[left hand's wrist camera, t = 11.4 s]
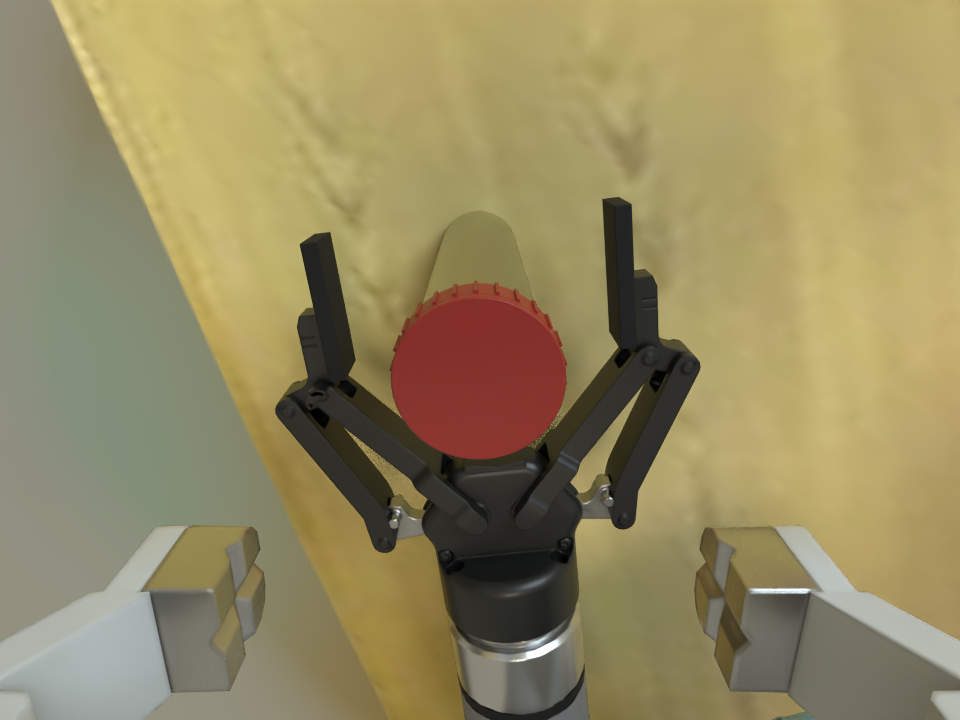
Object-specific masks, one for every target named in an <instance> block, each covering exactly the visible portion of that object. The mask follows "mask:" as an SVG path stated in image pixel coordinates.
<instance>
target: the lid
mask: <svg viewBox="0 0 960 720" xmlns="http://www.w3.org/2000/svg"><path fill="white" fill-rule="evenodd" d="M561 346H562V343H561V340H560V338H559V335H558V332H557V331H554V330H553V326H552V324H551V321H550V318H549V316H548V314H545V315H544V314H543V312H542V311H541V310H540V309H539V308H538V307H537V305H536V302H535V300H533V299H532V300H531V301H530V300H529V299H527V298H526V297H524V296H523V295H521V294H519V291H518V289H516V288H515V289H514V291H513V290H511V289H508V288H506V287H502V286H499V283H497V282H495V285H493V284H486V283H478V281H474V283H472V284H463V285H459V286H458V285H457V283H456V284H453V287H452V288H449V289H446V290H444V291H442V292H440V293H438V291H436V292H434V295H433V297H431V298H430V299H429V300H427V301H426V302H425V303H423V304H422V303H419V304H418V306H417V309H416V312H415V313H414V314H413V315H412V317H411V318H410V319H409V318H407V319H406V321H405V324H404V326H403V329H402V336H400V335H399V336H398V339H397V341H396V344H395V346H394V349H393V351H395V355H394V358H393V361H392V364H391V367H390V371H391V388H392V392H393V397H394V400H395V404H396V407H397V409H398V411H399V413H400V415H401V417H402V418H403V420H404V421H405V423H406V424H407V426H408V427H409V428H410V429H411V430H412V431H413V432H414V433H415V434H416V435H417V436H418V437H419V438H420V439H421V440H422V441H424V442H425V443H427V444H428V445H430V446H431V447H433V448H435V449H437V450H439V451H441V452H443V453H446V454H449V455H452V456H456V457H460V458H466V459H492V458H497V457H502V456H506V455H508V454H511V453H514V452H516V451H518V450H520V449H522V448H524V447H526V446H527V445H529V444H531V443H532V442H534V441H535V440H536V439H537V438H538V437H539V436H541V435H542V434H543V433H544V432H545V430H546V429H547V428H548V427H549V426H550V424H551V423H552V422H553V420H554V419H555V417H556V415H557V413H558V411H559V409H560V407H561V404H562V401H563V398H564V394H565V389H566V383H567V382H566V367H565V366H567V362H566V359H565V356H564V354H563V351H562V349H560V347H561Z"/></svg>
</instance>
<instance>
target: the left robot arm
mask: <svg viewBox="0 0 960 720" xmlns="http://www.w3.org/2000/svg"><path fill="white" fill-rule="evenodd" d="M259 551H260V545H259V539H258V534H257V531H256V530H255V529H254V528H253V527H236V526H188V525H178V526H177V525H172V526H171V525H169V526H159V527H156V528H154V529H153V530H152V531H151V532H150V534H149V535H148V536H147V537H146V539H145V540H144V541H143V542H142V544H141V545H140V546H139V547H138V548H137V550H136V551H135V552H134V553H133V555H132V556H131V557H130V558H129V560H128V561H127V562H126V563H125V565H124V566H123V567H122V568H121V570H120V571H119V572H118V573H117V574H116V576H115V577H114V578H113V579H112V581H111V582H110V583H109V584H108V586H107V587H106V588H105V589H104V591H103V592H91V593H89V594H87V595H85V596H84V597H82V598H80V599H78V600H76V601H74V602H72V603H70V604H69V605H67V606H65V607H63V608H61V609H59V610H57V611H55V612H53V613H51V614H50V615H48V616H46V617H44V618H42V619H40V620H38V621H36V622H34V623H33V624H31V625H29V626H27V627H25V628H23V629H21V630H19V631H18V632H16V633H14V634H12V635H10V636H8V637H6V638H4V639H2V640H1V641H0V720H145V719H146V718H147V717H148V716H150V715H151V714H152V713H153V712H154V711H155V710H156V709H157V708H159V707H160V706H161V705H162V704H163V703H164V702H165V701H167V700H168V699H169V698H170V697H171V696H172V694H171V693H177V692H211V691H230V689H231V687H232V685H233V683H234V681H235V678H236V676H237V674H238V672H239V669H240V667H241V665H242V663H243V660H244V658H245V656H246V654H245V648H244V641H246V640H247V639H248V638H250V637H251V636H252V635H254V634H255V633H256V631H257V628H258V626H259V623H260V621H261V618H262V613H263V608H264V603H265V579H264V572H263V571H262V570H261V569H260V568H259V567H258V566H257V565H256V564H255V563H254V561H255V559H256V557H257V555H258V553H259ZM700 551H701V553H702V555H703V557H704V559H705V561H706V563H705V564H704V565H703V566H702V567H701V568H700V569H699V570H698V571H697V572H696V581H695V602H696V610H697V614H698V617H699V621H700V623H701V626H702V628H703V631H704V633H705V634H706V635H708V636H709V637H710V638H712V639H713V640H714V641H716V648H715V654H714V656H715V658H716V660H717V663H718V665H719V667H720V669H721V672H722V674H723V676H724V678H725V680H726V683H727V685H728V687H729V689H730V691H747V692H783V693H788V696H789V697H790V698H792V699H793V700H794V701H795V702H796V703H797V704H798V705H799V706H801V707H802V708H803V709H804V710H805V711H806V712H807V713H808V714H810V715H811V716H812V717H813V718H814V719H815V720H960V641H959V640H957V639H955V638H954V637H952V636H950V635H948V634H946V633H944V632H942V631H940V630H939V629H937V628H935V627H933V626H931V625H929V624H927V623H925V622H923V621H922V620H920V619H918V618H916V617H914V616H912V615H910V614H908V613H907V612H905V611H903V610H901V609H899V608H897V607H895V606H893V605H891V604H890V603H888V602H886V601H884V600H882V599H880V598H878V597H876V596H875V595H873V594H871V593H869V592H857V591H856V589H855V588H854V587H853V586H852V584H851V583H850V582H849V581H848V579H847V578H846V577H845V576H844V575H843V573H842V572H841V571H840V570H839V568H838V567H837V566H836V565H835V563H834V562H833V561H832V560H831V559H830V557H829V556H828V555H827V554H826V552H825V551H824V550H823V549H822V547H821V546H820V545H819V544H818V542H817V541H816V540H815V539H814V538H813V536H812V535H811V534H810V533H809V531H808V530H807V529H806V528H804V527H802V526H800V525H785V526H768V527H716V528H705V530H704V532H703V534H702V538H701V544H700Z"/></svg>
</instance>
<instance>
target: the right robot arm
mask: <svg viewBox="0 0 960 720" xmlns="http://www.w3.org/2000/svg"><path fill="white" fill-rule="evenodd" d="M602 200H603V219H604V238H605V257H606V276H607V295H608V315H609V332H610V333H611V335H612V337H613V338H614V340H615V341H616V343H617V345H618V346H619V347H618V349H617V350H616V351H615V352H614V354H613V355H612V356H611V358H610V359H609V360H608V361H607V363H606V364H605V365H604V367H603V368H602V369H601V370H600V372H599V373H598V374H597V376H596V377H595V378H594V379H593V381H592V382H591V383H590V385H589V386H588V387H587V388H586V390H585V391H584V392H583V394H582V395H581V396H580V397H579V399H578V400H577V401H576V403H575V404H574V405H573V406H572V408H571V409H570V410H569V412H568V413H567V414H566V415H565V417H564V418H563V419H562V420H561V422H560V423H559V424H558V426H557V427H556V428H555V429H551V430H550V431H549V432H548V433H547V434H546V436H545V437H544V438H543V439H542V441H541V442H540V443H539V445H538V446H537V447H536V448H535V449H533V448H531V447H527V446H526V447H524V448H522V449H520V450H518V451H516V452H514V453H511V454H508V455H506V456H502V457H497V458H492V459H466V458H460V457H455V456H452V455H449V454H446V453H443V452H441V451H439V450H437V449H435V448H433V447H431V446H430V445H428V444H427V443H425V442H424V441H422V440H421V439H420V438H419V437H418V436H417V435H416V434H415V433H414V432H413V431H412V430H411V429H410V428H409V427H408V426H407V424H406V423H405V421H404V420H403V419H402V418H400V417H399V416H398V415H397V414H396V413H394V412H393V411H392V410H391V409H389V408H388V407H387V406H386V405H384V404H383V403H382V402H381V401H379V400H378V399H377V398H376V397H375V396H373V395H372V394H371V393H370V392H368V391H367V390H366V389H365V388H363V387H362V386H361V385H360V384H359V383H357V382H356V381H355V380H354V379H352V378H351V377H350V376H349V375H348V374H349V372H350V370H351V368H352V366H353V365H354V363H355V361H356V359H355V354H354V349H353V344H352V339H351V334H350V329H349V324H348V319H347V314H346V309H345V304H344V299H343V294H342V289H341V284H340V279H339V274H338V269H337V264H336V259H335V254H334V249H333V243H332V238H331V233H330V232H327V233H319V234H314V235H313V236H311V237H310V238H308V239H307V240H305V241H304V242H302V243H301V244H300V248H301V252H302V257H303V262H304V266H305V271H306V276H307V280H308V285H309V289H310V294H311V299H312V303H313V308H306V309H305V311H304V312H303V313H302V314H301V315H300V316H299V319H298V325H297V330H298V334H299V338H300V343H301V346H302V351H303V356H304V360H305V365H306V369H307V373H308V378H307V379H305V380H303V381H297V382H294V383H293V384H292V385H291V386H290V387H289V388H288V390H287V391H286V393H285V394H284V395H283V397H282V398H281V400H280V401H279V402H278V404H277V405H276V408H275V412H276V415H277V417H278V418H279V419H280V421H281V422H282V423H283V424H284V425H285V427H286V428H287V429H288V430H289V431H290V432H291V434H292V435H293V436H294V437H295V438H296V440H297V441H298V442H299V443H300V444H301V445H302V447H303V448H304V449H305V450H306V451H307V453H308V454H309V455H310V456H311V457H312V458H313V460H314V461H315V462H316V463H317V464H318V466H319V467H320V468H321V469H322V470H323V471H324V473H325V474H326V475H327V476H328V477H329V479H330V480H331V481H332V482H333V483H334V484H335V486H336V487H337V488H338V489H339V490H340V492H341V493H342V494H343V495H344V496H345V497H346V499H347V500H348V501H349V502H350V503H351V505H352V506H353V507H354V508H355V509H356V510H357V512H358V513H359V514H360V515H361V516H362V518H363V519H364V521H365V524H366V527H367V530H368V533H369V535H370V538H371V541H372V544H373V546H374V548H375V549H376V550H377V551H379V552H382V553H388V552H390V551H392V550H393V549H394V548H395V545H396V541H397V540H399V539H404V538H409V537H414V536H419V535H424V534H425V535H426V537H427V538H428V539H429V540H430V541H431V542H432V544H433V545H434V547H435V550H436V554H437V559H438V565H439V571H440V577H441V583H442V588H443V594H444V600H445V605H446V610H447V612H448V624H449V630H450V635H451V640H452V646H453V651H454V657H455V662H456V667H457V674H458V679H459V683H460V687H461V693H462V701H463V708H464V716H465V720H590V717H589V707H588V698H587V690H586V681H585V665H584V659H585V653H584V642H583V631H582V619H581V608H580V601H579V598H578V597H579V583H578V571H577V559H576V546H575V531H576V528H577V526H578V524H579V522H580V520H581V519H611V520H612V523H613V525H614V526H615V527H616V528H618V529H628V528H630V527H631V526H632V525H633V524H634V522H635V519H636V508H637V497H638V490H639V488H640V486H641V484H642V482H643V481H644V479H645V477H646V475H647V473H648V471H649V469H650V467H651V465H652V463H653V461H654V459H655V457H656V455H657V453H658V451H659V449H660V447H661V445H662V443H663V441H664V439H665V438H666V436H667V434H668V432H669V430H670V428H671V426H672V424H673V422H674V420H675V418H676V416H677V414H678V412H679V410H680V408H681V406H682V404H683V402H684V400H685V398H686V396H687V394H688V393H689V391H690V389H691V387H692V385H693V383H694V381H695V379H696V377H697V375H698V373H699V370H700V362H699V361H698V359H697V358H696V357H695V356H694V355H693V353H692V352H691V351H690V350H689V349H688V348H687V347H686V346H685V345H684V344H683V343H682V342H681V341H679V340H676V339H672V340H666V339H662V338H659V335H658V307H657V306H658V299H657V284H656V282H655V280H654V278H653V276H652V275H651V274H650V273H649V272H648V271H647V270H646V269H641V270H634V257H633V230H632V204H630V203H629V202H627V201H625V200H623V199H621V198H619V197H615V198H607V199H602ZM643 384H644V385H643ZM642 386H643V388H642V390H641V392H640V394H639V396H638V398H637V400H636V402H635V404H634V406H633V408H632V410H631V412H630V414H629V417H628V419H627V421H626V423H625V425H624V427H623V429H622V431H621V433H620V435H619V437H618V439H617V441H616V443H615V446H614V448H613V450H612V452H611V454H610V456H609V459H608V462H607V466H606V471H605V475H604V474H599V475H597V476H596V479H595V480H594V481H593V484H592V486H591V488H590V489H589V490H588V491H587V492H584V493H578V491H577V490H576V488H575V487H574V486H573V485H572V484H571V483H570V481H571V480H572V479H573V478H574V476H575V475H576V473H577V471H578V469H579V465H580V463H581V461H582V460H583V458H584V457H585V456H586V455H587V453H588V452H589V451H590V450H591V449H592V447H593V446H594V445H595V444H596V442H597V441H598V440H599V439H600V437H601V436H602V435H603V434H604V432H605V431H606V430H607V429H608V428H609V426H610V425H611V424H612V423H613V421H614V420H615V419H616V418H617V416H618V415H619V414H620V413H621V411H622V410H623V409H624V408H625V407H626V405H627V404H628V403H629V402H630V400H631V399H632V398H633V397H634V395H635V394H636V393H637V392H638V390H639V389H640V388H641V387H642ZM345 428H346V429H347V430H348V431H349V432H351V433H352V434H353V435H354V436H356V437H357V438H358V439H360V440H361V441H362V442H363V443H365V444H366V445H367V446H369V447H370V448H371V449H372V450H374V451H375V452H376V453H377V454H379V455H380V456H381V457H383V458H384V459H385V460H386V461H388V462H389V463H390V464H391V465H393V466H394V467H395V468H397V469H398V470H399V471H400V472H402V473H403V474H404V475H405V476H407V477H408V478H409V479H410V480H411V481H412V483H413V485H414V487H415V488H416V490H417V491H418V492H419V493H421V494H422V495H423V496H425V497H426V498H427V499H428V500H427V501H426V503H425V505H424V508H423V509H419V510H418V509H414V508H412V507H411V506H409V504H408V503H407V501H406V500H405V499H404V497H403V496H402V495H396V496H394V494H393V491H392V489H391V487H390V485H389V484H388V482H387V481H386V479H385V478H384V477H383V475H382V474H381V473H380V472H379V470H378V469H377V468H376V467H375V465H374V464H373V463H372V462H371V461H370V459H369V458H368V457H367V456H366V454H365V453H364V452H363V451H362V449H361V448H360V447H359V446H358V445H357V443H356V442H355V441H354V440H353V438H352V437H351V436H350V435H349V433H348V432H347V431H346V430H345ZM772 720H815V719H814V718H813V717H812V716H811V715H810V714H808V713H807V712H806V711H805V712H802V713H798V714H795V715H791V716H788V717H777V718H774V719H772Z"/></svg>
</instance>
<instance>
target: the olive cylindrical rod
mask: <svg viewBox="0 0 960 720" xmlns="http://www.w3.org/2000/svg"><path fill="white" fill-rule="evenodd" d="M474 281H478V283H486V284H493V285H495V282H497V283H499V286H502V287H506V288H508V289H511V290H513V291H514V289H515V288H516V289H518V291H519V294H521V295H523V296H524V297H526V298H527V299H529V300H530V301H531V300H532V299H533V296H532V293H531V289H530V286H529V283H528V280H527V276H526V273H525V270H524V266H523V263H522V260H521V257H520V253H519V250H518V247H517V243H516V240H515V237H514V234H513V232H512V230H511V229H510V227H509V226H508V225H507V224H506V222H505V221H503V220H502V219H501V218H499V217H498V216H496V215H494V214H491V213H488V212H480V211H477V212H470V213H467V214H464V215H462V216H460V217H458V218H457V219H456V220H454V221H453V222H452V223H451V224H450V226H449V227H448V229H447V230H446V232H445V234H444V237H443V240H442V243H441V246H440V250H439V253H438V256H437V259H436V263H435V266H434V269H433V272H432V275H431V279H430V282H429V285H428V288H427V292H426V295H425V298H424V301H423V303H425V302H426V301H427V300H429V299H430V298H431V297H433V295H434V292H436V291H438V293H440V292H442V291H444V290H446V289H449V288H452V287H453V284H456V283H457V285H458V286H459V285H463V284H472V283H474ZM533 300H534V299H533Z"/></svg>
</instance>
